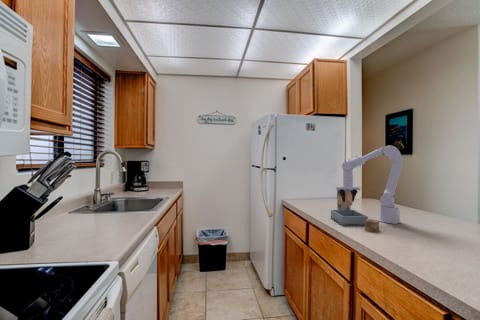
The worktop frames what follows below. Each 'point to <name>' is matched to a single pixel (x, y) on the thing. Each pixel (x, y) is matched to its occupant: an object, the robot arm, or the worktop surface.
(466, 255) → the worktop surface
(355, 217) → the slate tote
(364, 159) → the robot arm
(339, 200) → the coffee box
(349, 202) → the peach rounded cylinder
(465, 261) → the worktop surface
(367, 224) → the walnut block
